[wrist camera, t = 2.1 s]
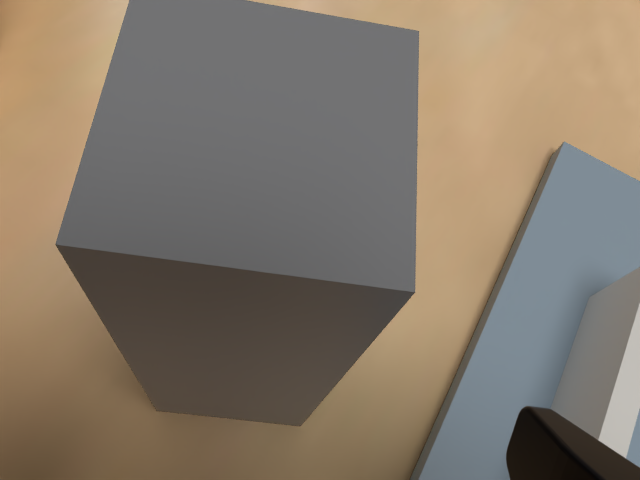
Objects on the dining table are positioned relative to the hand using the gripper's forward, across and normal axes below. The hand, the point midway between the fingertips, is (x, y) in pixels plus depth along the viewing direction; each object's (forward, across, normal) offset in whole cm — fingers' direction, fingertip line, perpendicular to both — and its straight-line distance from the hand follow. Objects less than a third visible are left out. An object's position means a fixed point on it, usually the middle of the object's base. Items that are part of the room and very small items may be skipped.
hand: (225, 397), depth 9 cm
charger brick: (+10, 0, +5) cm, 11 cm away
